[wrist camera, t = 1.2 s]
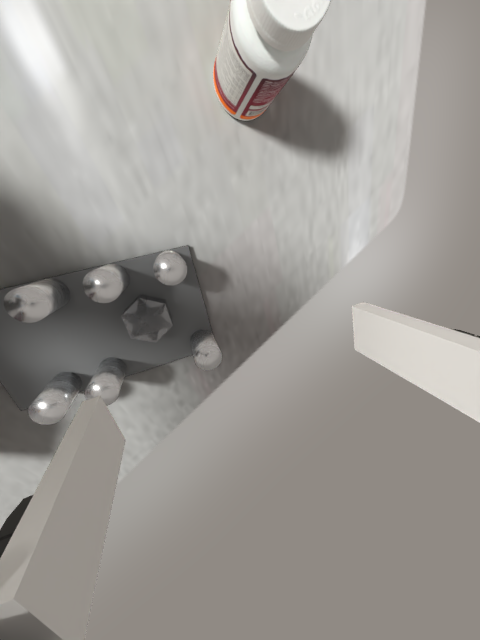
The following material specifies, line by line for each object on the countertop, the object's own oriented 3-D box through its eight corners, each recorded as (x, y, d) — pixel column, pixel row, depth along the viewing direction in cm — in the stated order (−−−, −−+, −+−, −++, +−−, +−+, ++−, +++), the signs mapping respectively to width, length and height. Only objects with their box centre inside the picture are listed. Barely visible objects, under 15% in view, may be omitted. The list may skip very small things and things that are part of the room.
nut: (137, 342, 28) (135, 349, 27) (119, 299, 26) (116, 304, 25) (175, 330, 29) (176, 336, 27) (161, 288, 27) (161, 292, 25)
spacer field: (59, 398, 28) (38, 429, 23) (-6, 291, 23) (-49, 303, 19) (216, 347, 31) (225, 365, 27) (188, 245, 27) (192, 246, 22)
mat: (23, 407, 28) (20, 410, 27) (-50, 301, 23) (-55, 302, 22) (215, 345, 32) (216, 347, 31) (187, 245, 27) (188, 245, 27)
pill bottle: (278, 68, 25) (359, -57, 14) (259, 134, 26) (320, 64, 16) (221, 30, 22) (268, -150, 12) (204, 104, 24) (232, -1, 13)
